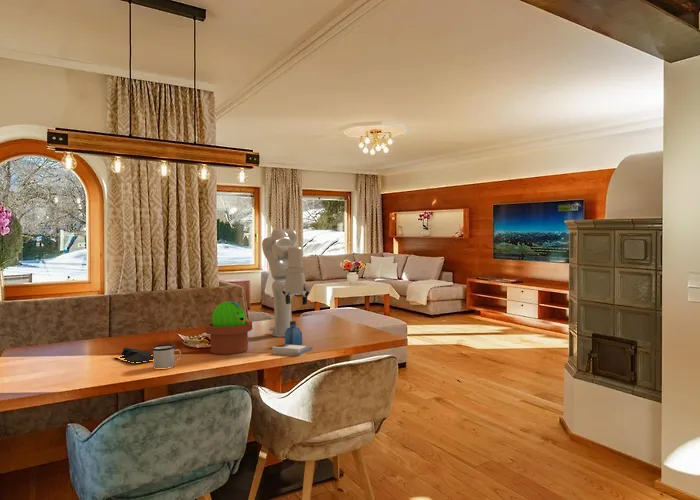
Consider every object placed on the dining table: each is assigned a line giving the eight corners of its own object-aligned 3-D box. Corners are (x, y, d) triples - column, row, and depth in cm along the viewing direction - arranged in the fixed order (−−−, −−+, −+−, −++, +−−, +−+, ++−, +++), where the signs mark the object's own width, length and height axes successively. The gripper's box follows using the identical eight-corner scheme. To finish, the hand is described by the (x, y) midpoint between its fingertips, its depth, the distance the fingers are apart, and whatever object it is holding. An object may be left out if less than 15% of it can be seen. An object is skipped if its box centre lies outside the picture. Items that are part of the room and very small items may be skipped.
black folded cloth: (128, 367, 207) (128, 357, 207) (112, 359, 223) (112, 349, 223) (163, 361, 217) (163, 350, 217) (146, 353, 233) (145, 343, 233)
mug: (156, 371, 198) (155, 350, 197) (149, 367, 205) (148, 346, 205) (184, 366, 205) (184, 345, 205) (177, 362, 213) (176, 342, 212)
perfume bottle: (285, 345, 242) (284, 321, 242) (294, 342, 247) (293, 319, 246) (292, 346, 238) (292, 322, 238) (302, 344, 242) (301, 321, 242)
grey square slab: (272, 353, 224) (272, 347, 224) (287, 347, 237) (287, 340, 237) (298, 356, 218) (298, 349, 218) (312, 349, 231) (312, 342, 231)
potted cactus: (196, 354, 226) (195, 302, 226) (224, 344, 247) (223, 296, 246) (235, 357, 218) (233, 303, 217) (260, 347, 239) (259, 297, 238)
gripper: (277, 271, 242) (277, 304, 242) (306, 271, 235) (307, 305, 235) (284, 270, 249) (285, 302, 249) (313, 270, 242) (314, 303, 242)
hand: (296, 304), depth 242 cm, fingers open, 9 cm apart
